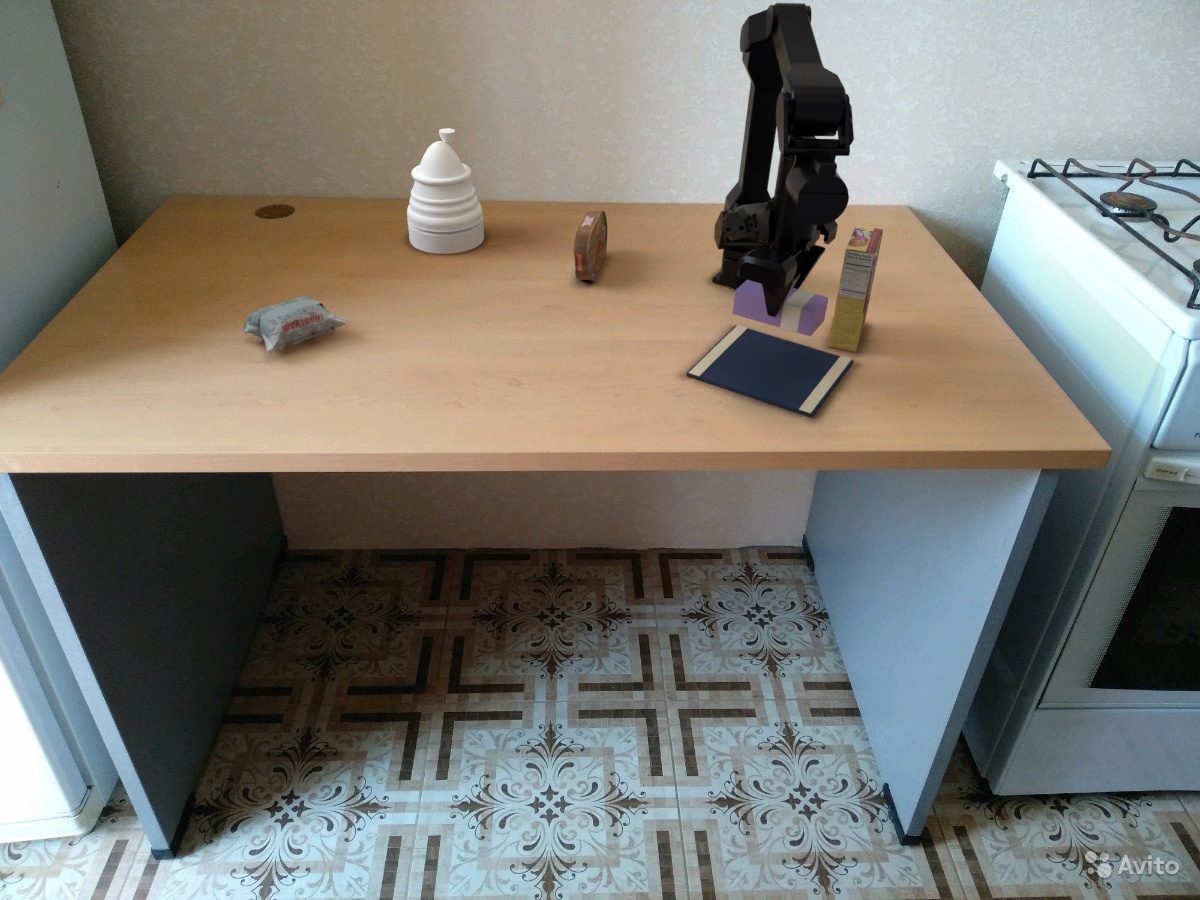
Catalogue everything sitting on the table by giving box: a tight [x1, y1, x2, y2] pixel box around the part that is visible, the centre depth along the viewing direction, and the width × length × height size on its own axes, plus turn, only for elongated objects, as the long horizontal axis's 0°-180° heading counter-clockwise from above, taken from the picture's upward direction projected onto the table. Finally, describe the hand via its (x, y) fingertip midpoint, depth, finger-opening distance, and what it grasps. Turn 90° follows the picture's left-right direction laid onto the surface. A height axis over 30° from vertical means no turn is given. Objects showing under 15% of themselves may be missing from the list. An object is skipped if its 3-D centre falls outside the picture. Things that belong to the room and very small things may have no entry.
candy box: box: [827, 225, 884, 353], centre depth 126 cm, size 9×4×15 cm, turn 158°
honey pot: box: [406, 127, 485, 255], centre depth 149 cm, size 13×13×18 cm
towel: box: [686, 324, 854, 419], centre depth 122 cm, size 16×18×1 cm
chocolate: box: [732, 280, 829, 337], centre depth 116 cm, size 5×11×4 cm, turn 58°
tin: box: [573, 210, 608, 282], centre depth 144 cm, size 15×3×8 cm, turn 168°
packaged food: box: [242, 295, 348, 354], centre depth 124 cm, size 9×12×5 cm
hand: (779, 307), depth 116 cm, fingers closed on chocolate, 5 cm apart
